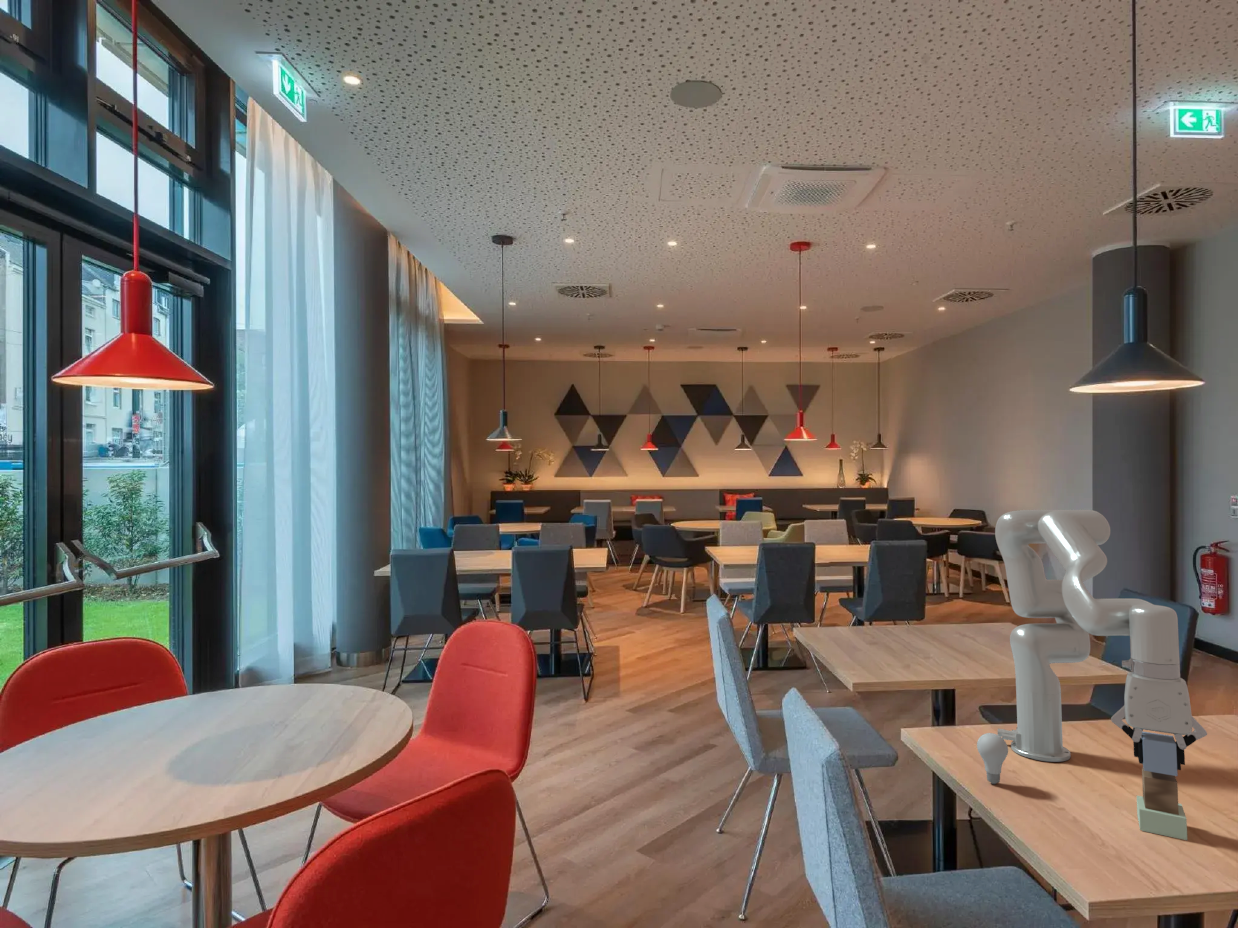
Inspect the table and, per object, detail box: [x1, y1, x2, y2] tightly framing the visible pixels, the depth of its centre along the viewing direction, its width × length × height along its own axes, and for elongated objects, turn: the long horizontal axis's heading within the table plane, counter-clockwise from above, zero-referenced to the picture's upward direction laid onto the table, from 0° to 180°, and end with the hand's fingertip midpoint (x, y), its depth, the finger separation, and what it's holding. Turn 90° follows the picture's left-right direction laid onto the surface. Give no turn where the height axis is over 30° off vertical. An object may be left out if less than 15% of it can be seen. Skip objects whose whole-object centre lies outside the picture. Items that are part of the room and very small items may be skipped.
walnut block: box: [1141, 767, 1179, 815], centre depth 132 cm, size 5×5×6 cm
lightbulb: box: [976, 732, 1009, 785], centre depth 152 cm, size 6×6×11 cm
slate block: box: [1141, 731, 1178, 777], centre depth 132 cm, size 5×5×6 cm
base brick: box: [1136, 795, 1188, 841], centre depth 132 cm, size 7×7×4 cm
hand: (1159, 763), depth 132 cm, fingers closed on slate block, 5 cm apart
